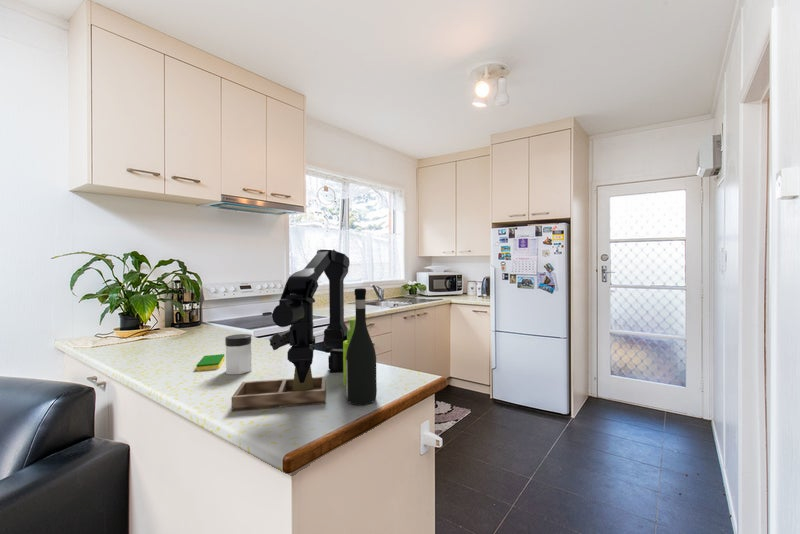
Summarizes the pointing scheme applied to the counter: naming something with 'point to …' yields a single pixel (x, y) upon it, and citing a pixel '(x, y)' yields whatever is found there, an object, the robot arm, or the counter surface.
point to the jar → (238, 354)
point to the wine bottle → (360, 358)
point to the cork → (307, 383)
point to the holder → (277, 394)
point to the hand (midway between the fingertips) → (303, 377)
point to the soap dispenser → (347, 344)
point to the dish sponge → (210, 362)
